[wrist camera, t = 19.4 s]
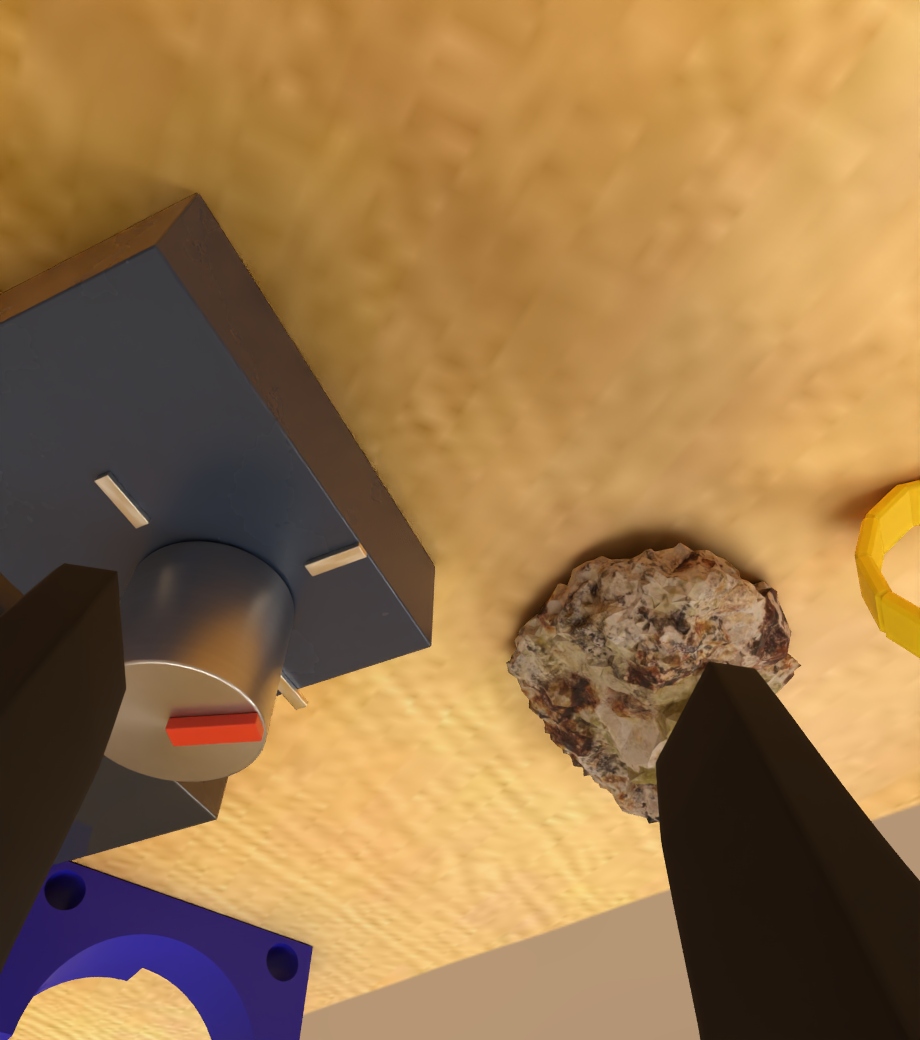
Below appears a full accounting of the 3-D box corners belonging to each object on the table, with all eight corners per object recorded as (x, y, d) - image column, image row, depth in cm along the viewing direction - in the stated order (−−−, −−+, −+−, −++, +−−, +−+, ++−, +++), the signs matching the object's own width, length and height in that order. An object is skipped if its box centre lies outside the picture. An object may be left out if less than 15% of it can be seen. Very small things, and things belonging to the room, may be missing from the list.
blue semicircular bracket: (-1, 899, 34) (-76, 1066, 30) (40, 851, 32) (-34, 1023, 27) (260, 984, 39) (231, 1141, 34) (312, 946, 37) (289, 1108, 32)
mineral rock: (480, 597, 21) (835, 644, 18) (520, 488, 24) (828, 516, 22) (509, 832, 28) (770, 886, 25) (537, 722, 31) (772, 763, 28)
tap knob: (160, 663, 21) (108, 799, 18) (106, 546, 19) (35, 680, 16) (310, 653, 21) (282, 790, 18) (273, 533, 19) (235, 667, 16)
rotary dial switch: (-94, 342, 19) (-178, 414, 17) (198, 191, 17) (152, 247, 15) (203, 661, 26) (175, 747, 23) (443, 579, 24) (440, 664, 21)
